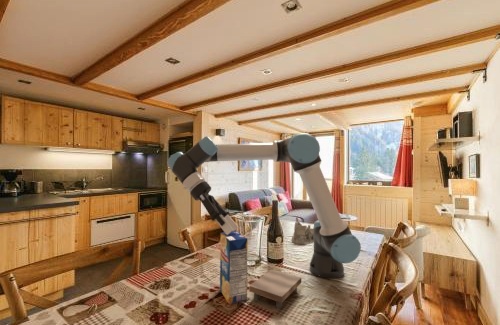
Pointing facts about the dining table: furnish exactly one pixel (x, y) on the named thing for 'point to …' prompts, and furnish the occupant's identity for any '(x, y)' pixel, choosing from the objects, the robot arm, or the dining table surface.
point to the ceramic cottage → (302, 234)
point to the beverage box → (233, 267)
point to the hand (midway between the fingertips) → (233, 230)
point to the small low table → (275, 286)
